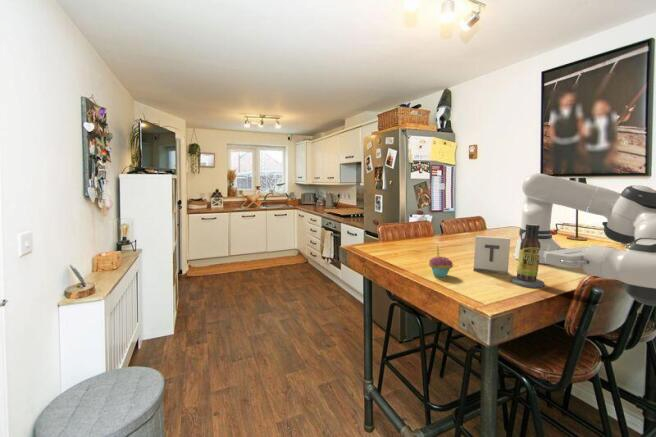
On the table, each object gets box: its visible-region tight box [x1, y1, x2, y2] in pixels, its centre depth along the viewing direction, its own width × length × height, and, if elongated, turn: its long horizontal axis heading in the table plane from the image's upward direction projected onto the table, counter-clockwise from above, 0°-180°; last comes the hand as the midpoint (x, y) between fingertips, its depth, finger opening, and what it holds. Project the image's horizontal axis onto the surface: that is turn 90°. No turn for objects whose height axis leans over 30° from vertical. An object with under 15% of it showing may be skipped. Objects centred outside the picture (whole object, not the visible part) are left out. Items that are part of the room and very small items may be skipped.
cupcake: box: [428, 244, 454, 278], centre depth 122 cm, size 9×8×12 cm
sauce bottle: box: [516, 224, 541, 281], centre depth 113 cm, size 6×6×20 cm
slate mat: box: [510, 275, 545, 289], centre depth 113 cm, size 10×10×1 cm
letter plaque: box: [473, 235, 511, 275], centre depth 127 cm, size 12×4×14 cm, turn 64°
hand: (549, 251), depth 106 cm, fingers open, 8 cm apart
